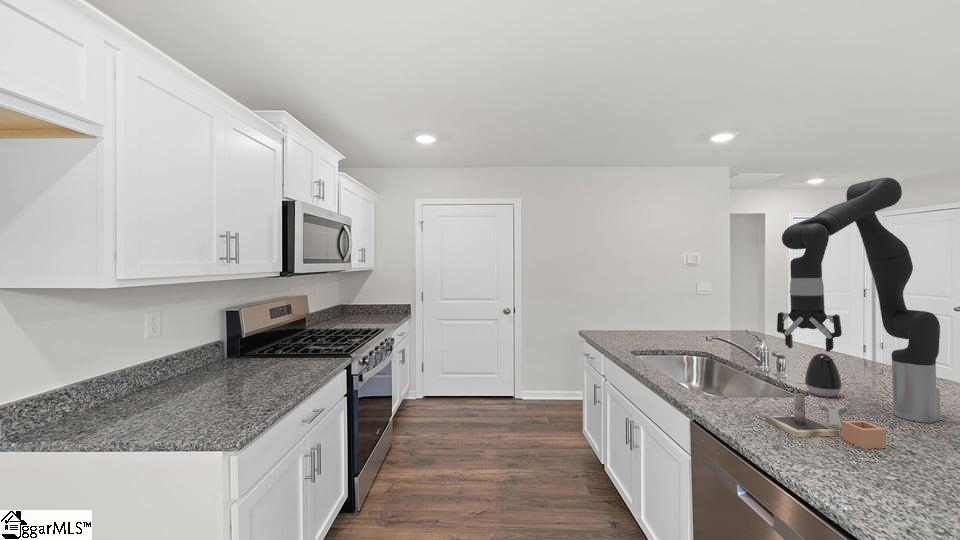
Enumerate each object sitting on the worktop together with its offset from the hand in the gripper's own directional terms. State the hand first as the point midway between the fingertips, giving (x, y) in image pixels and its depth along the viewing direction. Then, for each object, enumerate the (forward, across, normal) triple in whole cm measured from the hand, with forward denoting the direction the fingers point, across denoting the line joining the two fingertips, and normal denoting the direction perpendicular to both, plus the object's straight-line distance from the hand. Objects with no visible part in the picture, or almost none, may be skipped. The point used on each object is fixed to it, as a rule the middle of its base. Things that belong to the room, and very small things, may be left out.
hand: (808, 349), depth 115 cm
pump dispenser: (+24, +3, -43) cm, 49 cm away
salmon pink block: (+24, -11, +1) cm, 26 cm away
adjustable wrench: (+25, -2, -18) cm, 31 cm away
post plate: (+24, +3, 0) cm, 24 cm away
